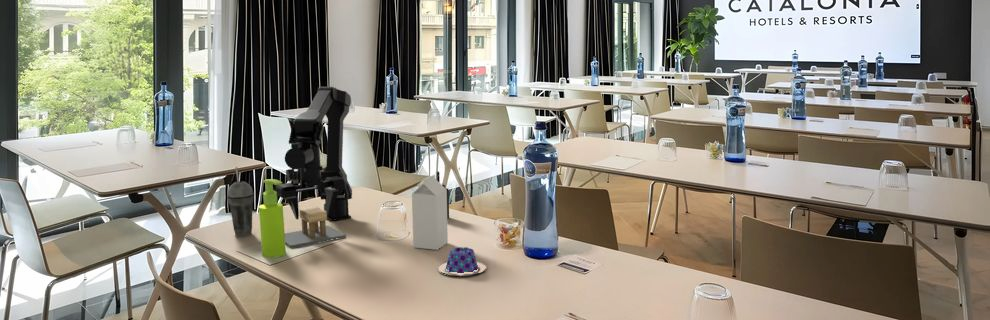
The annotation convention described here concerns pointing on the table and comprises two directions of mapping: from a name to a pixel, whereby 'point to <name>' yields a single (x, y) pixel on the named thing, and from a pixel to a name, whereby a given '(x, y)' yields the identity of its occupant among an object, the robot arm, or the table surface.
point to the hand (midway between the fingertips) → (312, 216)
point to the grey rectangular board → (302, 239)
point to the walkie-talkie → (447, 194)
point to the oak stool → (313, 221)
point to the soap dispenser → (272, 222)
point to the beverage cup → (241, 207)
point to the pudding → (461, 260)
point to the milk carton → (429, 215)
